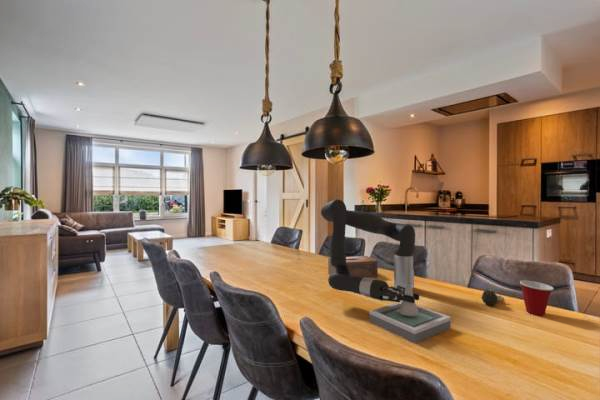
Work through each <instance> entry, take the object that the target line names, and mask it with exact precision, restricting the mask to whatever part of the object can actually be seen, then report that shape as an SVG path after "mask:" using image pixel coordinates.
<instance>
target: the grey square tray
mask: <svg viewBox="0 0 600 400" xmlns="http://www.w3.org/2000/svg"><path fill="white" fill-rule="evenodd" d="M401 304H402V301H400V302H393V303H391V304H387V305H385V306H380V307H377V308H374V309H370V310H369V322H370V323H371V324H374V325H376V326H377V327H380V328H382V329H384V330H386V331H388V332H390V333H392V334H394V335H396V336H398V337H401V338H403V339H405V340H406V341H409V342H412V343H413V344H417V343H421V342H422V341H424V339H425V340H427V339H429V338H431V336H432V337H434V336H436V335H438V333H439V334H441V333H443V332H446V331H449V330H450V328H451V327H452V325H451V319H452V317H451V316H449V315H447V314H444V313H441V312H437V311H434V310H433V309H432V310H431V309H428V308H426V307H423V306H421V305H418V304H416V306H417V309H418V312H419V314H418V316H406V315H402V314H400V313H399V312H398V311H399V309H400V306H401Z"/></svg>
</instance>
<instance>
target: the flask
mask: <svg viewBox="0 0 600 400" xmlns="http://www.w3.org/2000/svg"><path fill="white" fill-rule="evenodd" d="M404 288H405V294H404V295H409V296H413V293H414V292H413V290H414V288H413V286H411V285H405V286H404ZM416 305H417V304H416V301H415V302H414V303H410V302H406V301H402V304H401V306H400V309H399V311H398V312H399V313H400V314H402V315H406V316H418V314H419V312H418V309H417V306H416Z"/></svg>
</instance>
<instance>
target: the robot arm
mask: <svg viewBox="0 0 600 400" xmlns="http://www.w3.org/2000/svg"><path fill="white" fill-rule="evenodd" d="M320 214H321V216H322V217H323V219H324V220H325V221H328V222H329V223H330V222H331V223H332V234H331V235H332V236H331V238H330V239H331V240H330V243H329V258H330V262H331V265H332V266H333V267H335V269H336V273H332V274H331V275H329V276H328V279H327V280H328V281H327V282H328V284H329V287H331V288H332V289H333V290H336V291H341V292H350V293H354V294H357V295H361V296H364V297H366V298H369V299H370V298H371V299H374V300H379V301H381V302H382V301H384V302H393V303H398V302H401V301H406V302H410V303H414V302H415V303H416V301H419V300H420V294H419V293H417V292H416V293H415V292H413V296H409V295H404V294H405V288H404V286H405V285H411V286H413V289H414V288H415V270H414V252H415V248H416V231H415V228H414V227H413V226H412V225H411V224H406V223H398V222H392V221H387V220H385V219H384V218H383V217H381V216H379V215H377V214H376V213H371V212H369V211H361V210H349V209H347V206H346V204H345V202H344V201H343V200H341V199H332V200H331V201H329V202H326V203H325V204H324V205H322V207H321V210H320ZM346 225H347V226H348V227H353V228H355V229H358V230H362V231H364V232H366V233H367V232H368V233H371V234H376V235H383V236H385V237H387V238H389V239H392V240H394V241H397V242H399V247H395V248H394V250H393V286H392V285H391V286H389V284H388V282H387V281H385V280H381V279H377V278H373V277H370V278H364V277H359V276H350V272H349V269H348V266H347V263H346V257H347V256H346V255H347V254H346V252H347V251H346Z"/></svg>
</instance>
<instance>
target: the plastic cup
mask: <svg viewBox="0 0 600 400" xmlns="http://www.w3.org/2000/svg"><path fill="white" fill-rule="evenodd" d="M519 283H520V287H521V290H522V296H523V301H524V306H525V311H526V313H527V312H528V313H527V314H529V313H530V314H529V315H532V314H533V315H532V316H536V315H538V317H545V315H546V311H547V307H548V303H549V300H550V296H551V293H552V291H554V287H553V286H552V285H549V284H546V283H543V282H538V281H533V280H532V281H531V280H520V281H519Z"/></svg>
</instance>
